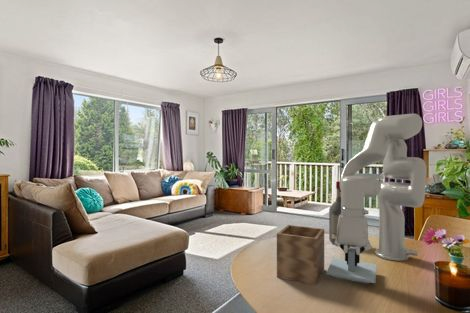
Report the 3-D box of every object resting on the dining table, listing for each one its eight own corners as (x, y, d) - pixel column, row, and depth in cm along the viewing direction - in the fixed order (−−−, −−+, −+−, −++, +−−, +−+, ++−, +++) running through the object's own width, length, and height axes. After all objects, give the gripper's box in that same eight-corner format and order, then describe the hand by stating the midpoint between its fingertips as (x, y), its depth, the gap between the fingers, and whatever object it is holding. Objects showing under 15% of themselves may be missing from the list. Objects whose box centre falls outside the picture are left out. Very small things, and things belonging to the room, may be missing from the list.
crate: (324, 269, 108) (324, 229, 107) (316, 285, 95) (316, 239, 95) (288, 263, 114) (288, 224, 114) (276, 276, 102) (276, 233, 101)
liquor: (328, 239, 145) (328, 180, 145) (346, 240, 144) (346, 180, 144) (332, 245, 136) (332, 182, 136) (352, 245, 135) (352, 182, 135)
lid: (376, 270, 104) (376, 246, 104) (375, 287, 91) (375, 260, 91) (333, 263, 111) (333, 241, 111) (326, 278, 98) (326, 253, 98)
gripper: (377, 212, 101) (377, 264, 101) (330, 208, 108) (330, 257, 108) (377, 216, 94) (376, 272, 94) (327, 212, 101) (327, 263, 101)
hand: (352, 263), depth 101 cm, fingers closed on lid
